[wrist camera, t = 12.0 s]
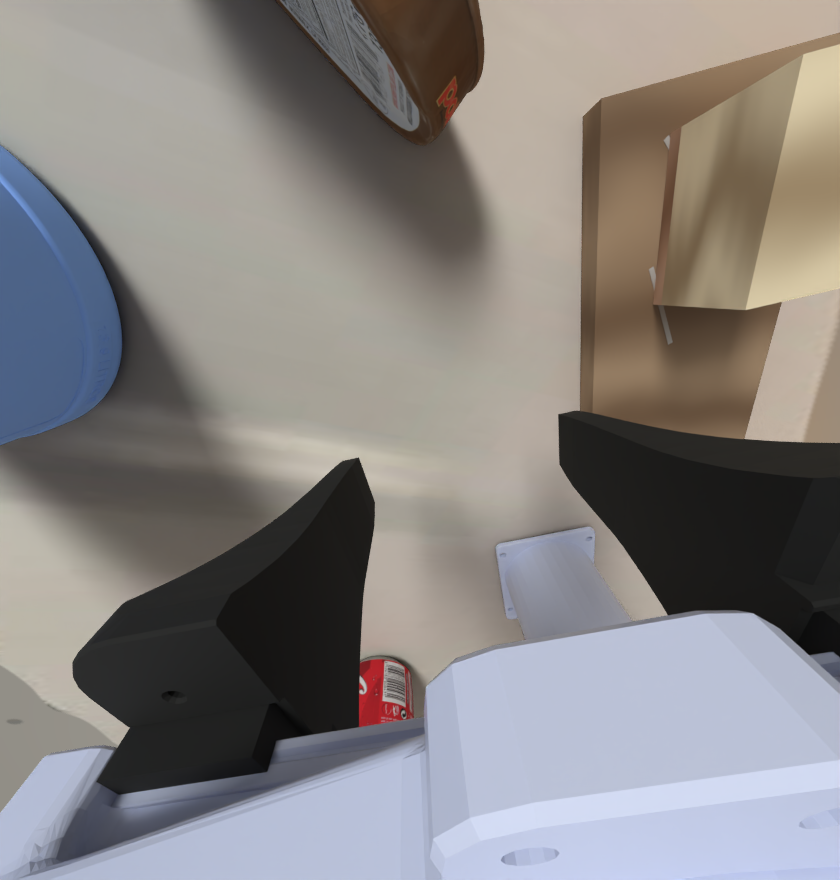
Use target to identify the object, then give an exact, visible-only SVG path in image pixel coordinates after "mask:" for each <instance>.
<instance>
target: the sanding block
mask: <svg viewBox="0 0 840 880" xmlns="http://www.w3.org/2000/svg"><path fill="white" fill-rule="evenodd" d="M835 289H840V44H839V45H835V46H831V47H828V48H824V49H820V50H817V51H813V52H810V53H806V54H803V55H801V56H800V57H798V58H796V59H795V60H793V61H791V62H790V63H788V64H786V65H784V66H783V67H781V68H779V69H778V70H776V71H774V72H773V73H771V74H769V75H768V76H766V77H764V78H763V79H761V80H759V81H758V82H756V83H754V84H752V85H751V86H749V87H747V88H746V89H744V90H742V91H741V92H739V93H737V94H736V95H734V96H732V97H731V98H729V99H727V100H726V101H724V102H722V103H721V104H719V105H717V106H715V107H714V108H712V109H710V110H709V111H707V112H705V113H704V114H702V115H700V116H699V117H697V118H695V119H694V120H692V121H690V122H689V123H687V124H685V125H683V126H682V127H680V128H678V129H677V130H675V131H673V132H672V133H671V134H670V144H669V154H668V163H667V173H666V183H665V193H664V202H663V212H662V222H661V231H660V241H659V251H658V261H657V270H656V280H655V290H654V299H653V305H667V306H684V307H701V308H717V309H734V310H748V309H753V308H757V307H761V306H766V305H770V304H775V303H779V302H783V301H788V300H792V299H796V298H801V297H805V296H809V295H814V294H818V293H822V292H827V291H831V290H835Z"/></svg>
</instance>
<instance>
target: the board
mask: <svg viewBox="0 0 840 880" xmlns="http://www.w3.org/2000/svg"><path fill="white" fill-rule="evenodd" d="M839 44H840V33H837V34H833V35H829V36H826V37H822V38H819V39H815V40H811V41H808V42H804V43H800V44H797V45H793V46H790V47H786V48H782V49H779V50H775V51H772V52H768V53H764V54H761V55H757V56H753V57H750V58H746V59H743V60H739V61H735V62H732V63H728V64H724V65H721V66H717V67H714V68H710V69H706V70H703V71H699V72H696V73H692V74H688V75H685V76H681V77H677V78H674V79H670V80H667V81H663V82H659V83H656V84H652V85H649V86H645V87H641V88H638V89H634V90H630V91H627V92H623V93H620V94H616V95H612V96H609V97H605V98H602V99H601V100H600V101H599V102H597V103H596V104H595V105H594V106H593V107H592V108H591V109H590V110H589V111H588V112H587V113H586V114H585V115H584V116H583V181H582V285H581V388H580V411H584V412H590V413H594V414H599V415H603V416H608V417H612V418H616V419H620V420H625V421H629V422H633V423H638V424H643V425H647V426H652V427H657V428H663V429H668V430H673V431H679V432H686V433H692V434H700V435H708V436H716V437H725V438H735V439H744V438H745V434H746V430H747V427H748V423H749V420H750V416H751V412H752V409H753V405H754V401H755V398H756V394H757V390H758V387H759V383H760V379H761V376H762V372H763V368H764V365H765V361H766V357H767V354H768V350H769V346H770V343H771V339H772V336H773V332H774V328H775V325H776V321H777V317H778V314H779V310H780V306H781V303H782V302H779V303H775V304H770V305H766V306H761V307H757V308H753V309H748V310H734V309H717V308H701V307H684V306H667V305H653V299H654V290H655V280H656V270H657V261H658V251H659V241H660V231H661V222H662V212H663V202H664V193H665V183H666V173H667V163H668V154H669V144H670V134H671V133H672V132H673V131H675V130H677V129H678V128H680V127H682V126H683V125H685V124H687V123H689V122H690V121H692V120H694V119H695V118H697V117H699V116H700V115H702V114H704V113H705V112H707V111H709V110H710V109H712V108H714V107H715V106H717V105H719V104H721V103H722V102H724V101H726V100H727V99H729V98H731V97H732V96H734V95H736V94H737V93H739V92H741V91H742V90H744V89H746V88H747V87H749V86H751V85H752V84H754V83H756V82H758V81H759V80H761V79H763V78H764V77H766V76H768V75H769V74H771V73H773V72H774V71H776V70H778V69H779V68H781V67H783V66H784V65H786V64H788V63H790V62H791V61H793V60H795V59H796V58H798V57H800V56H801V55H803V54H806V53H810V52H813V51H817V50H820V49H824V48H828V47H831V46H835V45H839Z"/></svg>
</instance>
